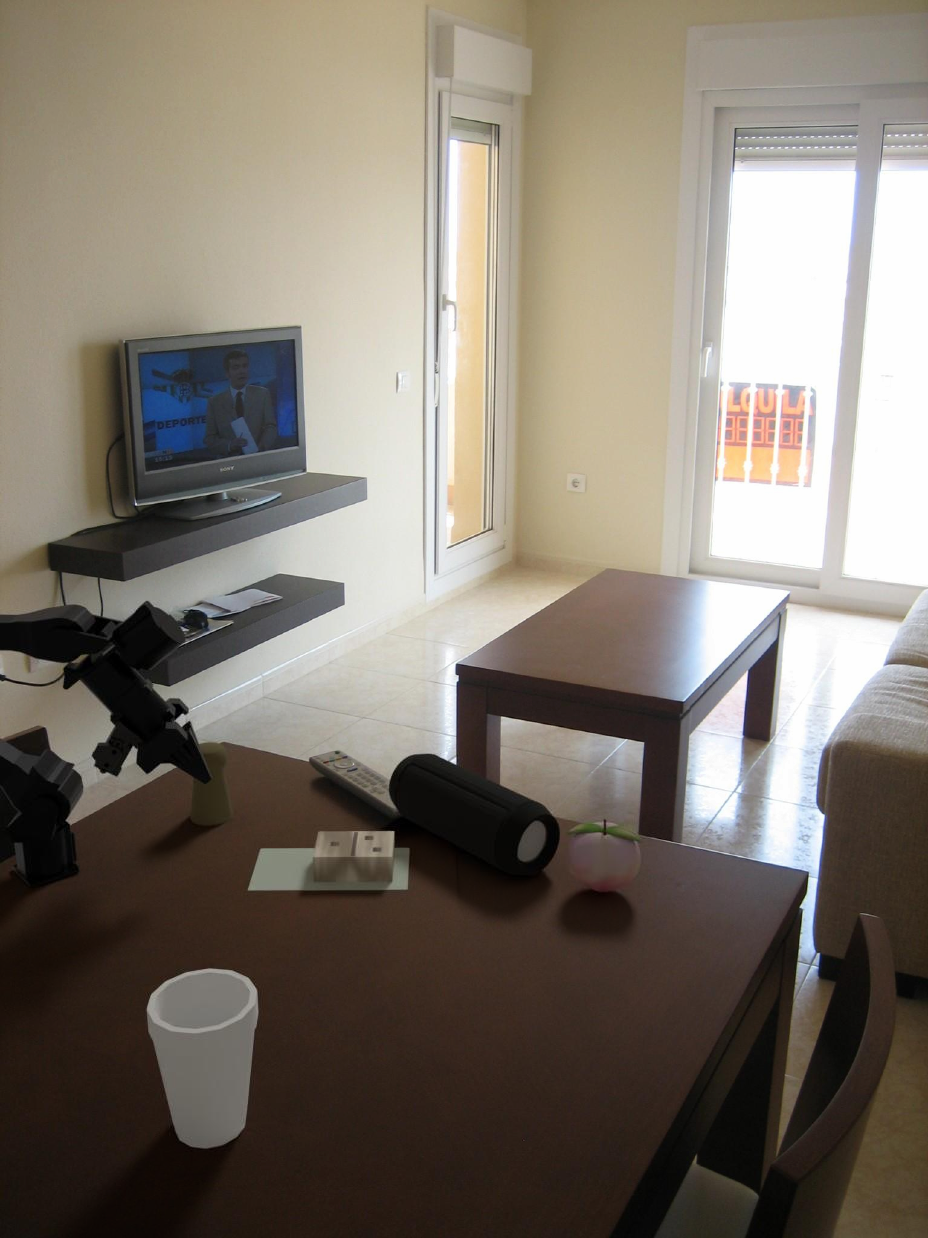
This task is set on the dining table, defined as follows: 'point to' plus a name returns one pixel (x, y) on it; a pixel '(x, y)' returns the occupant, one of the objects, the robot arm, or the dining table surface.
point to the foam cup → (205, 1051)
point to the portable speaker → (475, 814)
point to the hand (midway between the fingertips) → (208, 781)
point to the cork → (212, 789)
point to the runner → (297, 872)
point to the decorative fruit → (603, 855)
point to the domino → (354, 856)
